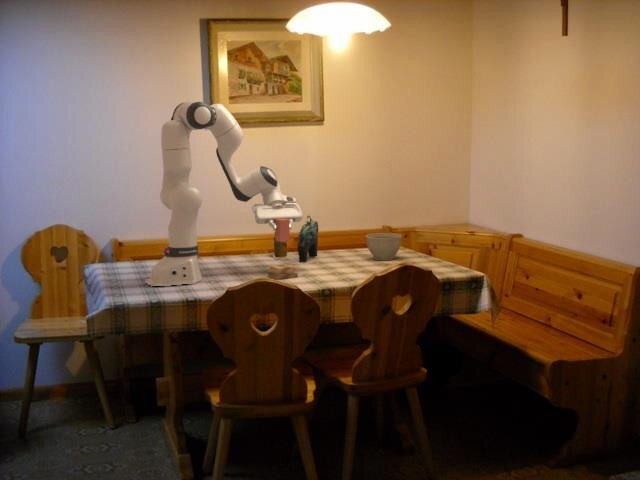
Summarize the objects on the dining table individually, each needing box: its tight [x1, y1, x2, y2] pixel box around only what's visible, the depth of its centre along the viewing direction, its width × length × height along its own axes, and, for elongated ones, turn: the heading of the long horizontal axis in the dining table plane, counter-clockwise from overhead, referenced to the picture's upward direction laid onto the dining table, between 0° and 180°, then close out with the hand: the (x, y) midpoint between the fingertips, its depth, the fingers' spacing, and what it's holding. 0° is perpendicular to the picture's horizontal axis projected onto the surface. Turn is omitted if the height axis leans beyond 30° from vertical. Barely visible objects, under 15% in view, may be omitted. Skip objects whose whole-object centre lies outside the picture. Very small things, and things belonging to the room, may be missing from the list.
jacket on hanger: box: [297, 215, 319, 263], centre depth 353 cm, size 20×6×20 cm, turn 162°
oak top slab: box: [269, 263, 296, 275], centre depth 312 cm, size 8×8×2 cm
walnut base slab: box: [267, 271, 299, 281], centre depth 313 cm, size 9×9×2 cm
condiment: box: [268, 236, 290, 259], centre depth 362 cm, size 7×8×12 cm
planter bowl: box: [365, 232, 402, 261], centre depth 350 cm, size 16×16×11 cm
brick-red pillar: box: [274, 219, 291, 242], centre depth 317 cm, size 4×4×9 cm
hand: (282, 229), depth 316 cm, fingers closed on brick-red pillar, 5 cm apart
